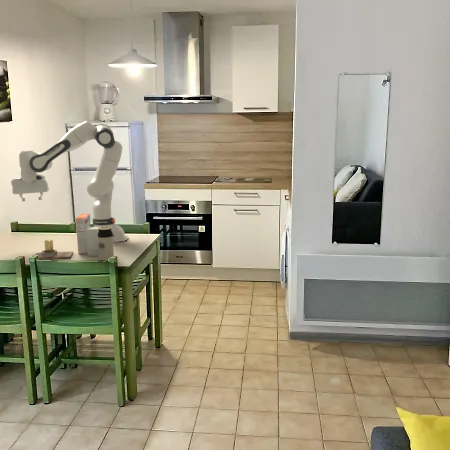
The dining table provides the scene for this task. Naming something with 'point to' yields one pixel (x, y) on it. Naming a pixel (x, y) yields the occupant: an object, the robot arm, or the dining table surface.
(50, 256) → the coupling base
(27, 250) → the dining table surface
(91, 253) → the skincare box
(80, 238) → the cracker box
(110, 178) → the robot arm
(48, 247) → the cylinder
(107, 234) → the travel mug
